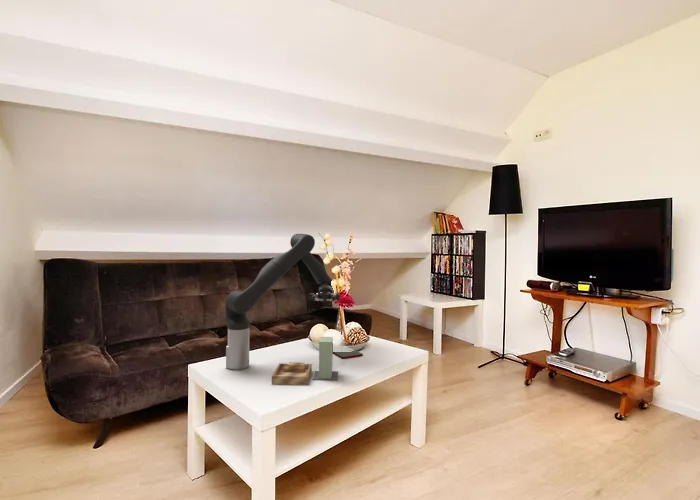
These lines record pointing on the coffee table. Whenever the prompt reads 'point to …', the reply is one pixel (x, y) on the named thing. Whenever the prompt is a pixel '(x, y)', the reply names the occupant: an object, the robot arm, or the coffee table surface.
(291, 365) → the offcut upper
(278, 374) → the wooden tray
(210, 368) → the coffee table surface
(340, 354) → the smartphone
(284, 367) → the offcut lower
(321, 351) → the green rectangular block
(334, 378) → the mat
